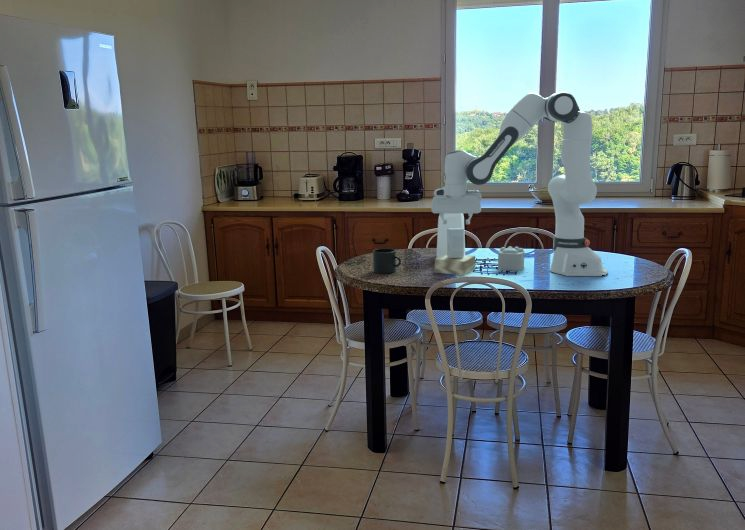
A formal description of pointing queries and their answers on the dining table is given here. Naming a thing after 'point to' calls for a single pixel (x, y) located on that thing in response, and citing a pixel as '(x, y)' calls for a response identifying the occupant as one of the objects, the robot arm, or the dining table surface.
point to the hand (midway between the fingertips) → (456, 224)
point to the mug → (385, 261)
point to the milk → (452, 222)
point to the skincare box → (455, 243)
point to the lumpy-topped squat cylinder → (511, 258)
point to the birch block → (454, 264)
